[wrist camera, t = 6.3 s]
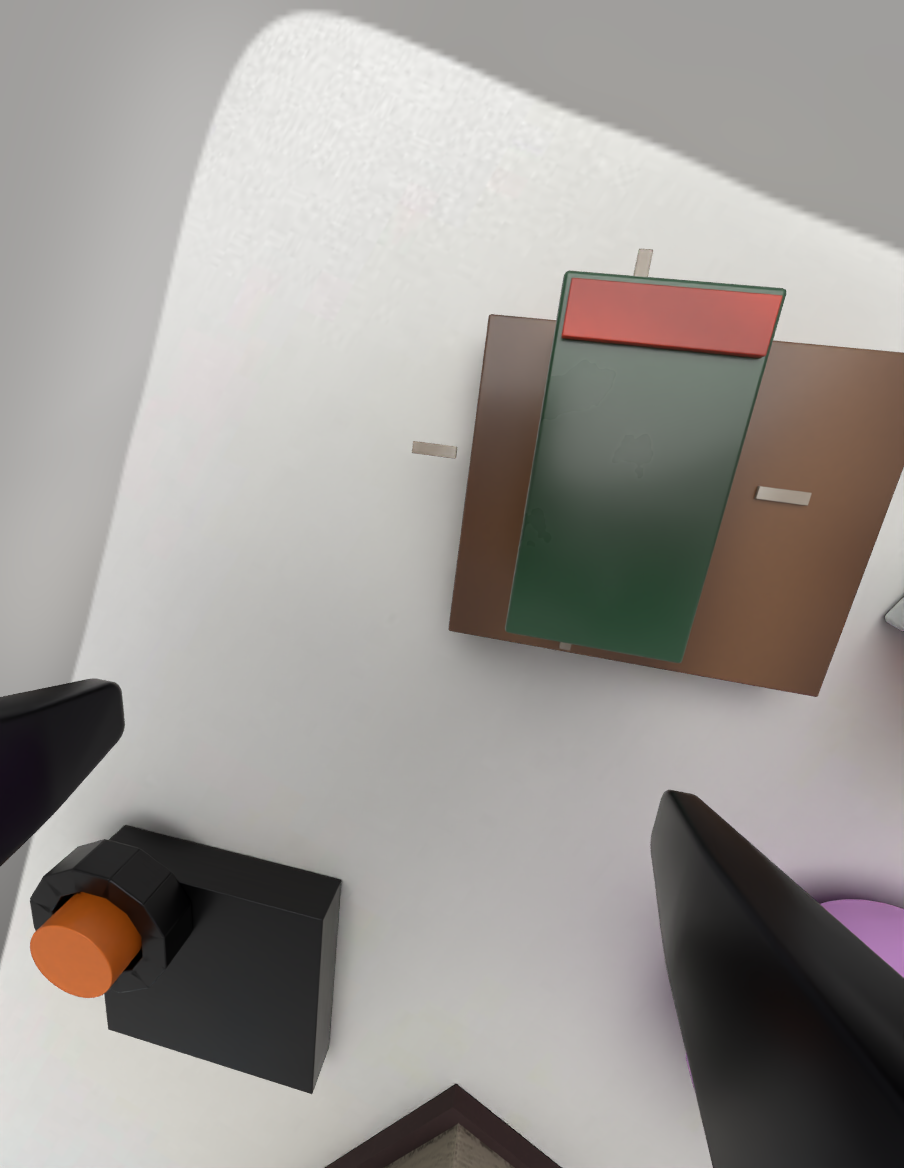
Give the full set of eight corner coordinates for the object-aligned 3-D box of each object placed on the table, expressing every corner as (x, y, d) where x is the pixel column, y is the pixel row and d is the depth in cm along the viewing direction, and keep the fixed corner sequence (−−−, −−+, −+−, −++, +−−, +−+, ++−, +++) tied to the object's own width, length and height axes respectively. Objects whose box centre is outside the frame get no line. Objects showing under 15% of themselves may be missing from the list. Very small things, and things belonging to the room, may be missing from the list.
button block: (117, 981, 30) (54, 1060, 26) (98, 795, 26) (21, 855, 22) (329, 1046, 28) (295, 1141, 24) (343, 856, 24) (306, 933, 20)
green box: (639, 599, 16) (685, 669, 11) (514, 579, 16) (503, 637, 11) (703, 343, 14) (796, 283, 9) (556, 328, 14) (565, 263, 9)
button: (71, 946, 24) (35, 983, 22) (62, 881, 23) (24, 915, 21) (145, 968, 23) (115, 1008, 21) (140, 903, 22) (108, 940, 20)
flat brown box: (414, 601, 20) (395, 623, 17) (449, 266, 16) (432, 233, 14) (781, 665, 18) (820, 700, 15) (905, 303, 15) (982, 273, 12)
